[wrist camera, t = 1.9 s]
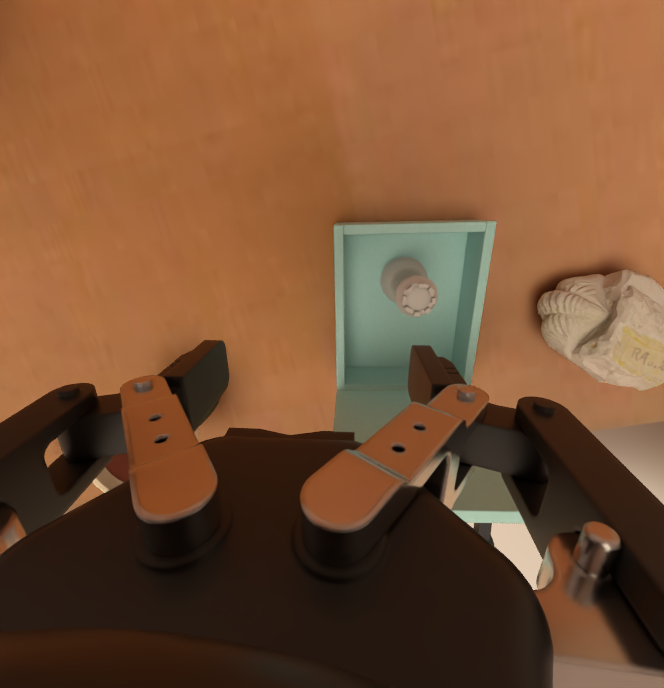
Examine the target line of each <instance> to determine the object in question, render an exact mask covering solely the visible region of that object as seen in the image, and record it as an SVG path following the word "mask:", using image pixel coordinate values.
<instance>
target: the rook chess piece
mask: <svg viewBox="0 0 664 688" xmlns="http://www.w3.org/2000/svg"><path fill="white" fill-rule="evenodd" d="M380 285H381V288H382V291H383V293H384V294H385V295H386V296H387V297H388V298H389V300H391V301H393V302H395V303H397V306H398V308H399V309H400V311H401V312H402V313H403V314H406V315H408V316H410V317H420V316H423V315H426V314H427V313H429V312H430V311H431V310H432V309H433V308H434V306H435V305H436V303H437V299H438V291H437V287H436V285H435V284H434V283H433V282H432V280H430V279H428V276H427V272H426V269H425V268H424V267H423V265H422V264H421V263H420V262H419V261H418V260H416V259H414V258H412V257H399V258H396V259H393V260H392V261H391V262H390V263H388V264H387V265H386V266H385V268H384V270H383V272H382V273H381V279H380Z"/></svg>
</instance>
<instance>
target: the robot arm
mask: <svg viewBox="0 0 664 688" xmlns="http://www.w3.org/2000/svg"><path fill="white" fill-rule="evenodd" d="M228 382H229V370H228V362H227V354H226V347H225V343H224V342H223V341H218V340H205V341H203V342H202V343H201V344H200V345H198V346H197V347H196V348H195V349H194V350H193V351H190V352H188V353H186V354H184V355H181V356H180V357H179V358H178V359H177V360H175V362H173V363H172V364H171V365H170V366H168V367H167V368H166V369H164V370H163V371H162V372H161V373H160V374H158V375H157V376H156V375H151V376H143V377H139V378H135V379H132V380H130V381H128V382H126V383H125V384H123V385H122V386H121V388H120V393H119V394H112V395H104V396H97V393H96V390H95V386H94V385H92V384H89V383H78V384H71V385H66V386H63V387H60V388H58V389H55V390H53V391H51V392H49V393H47V394H46V395H44V396H43V397H41V398H39V399H38V400H36V401H35V402H33V403H32V404H30V405H28V406H27V407H25V408H24V409H22V410H20V411H19V412H17V413H16V414H14V415H12V416H11V417H9V418H8V419H6V420H5V421H3V422H1V423H0V688H664V505H663V504H662V503H661V502H660V501H659V500H658V499H657V498H656V497H655V496H654V495H653V494H652V493H651V492H650V491H649V490H648V489H647V488H646V487H645V486H644V485H643V484H642V483H641V482H640V481H639V480H638V479H637V478H636V477H635V476H634V475H633V474H632V473H631V472H630V471H629V470H628V469H627V468H626V467H625V466H624V465H623V464H622V463H621V462H620V461H619V460H618V459H617V458H616V457H615V456H614V455H613V454H612V453H611V452H610V451H609V450H608V449H607V448H606V447H605V446H604V445H603V444H602V443H601V442H600V441H599V440H598V439H597V438H596V437H595V436H594V435H593V434H592V433H591V432H590V431H589V430H588V429H587V428H586V427H585V426H584V425H583V424H582V423H581V422H580V421H579V420H578V419H577V418H576V417H575V416H574V415H573V414H572V413H571V412H570V411H569V410H568V409H566V408H565V407H564V406H562V405H560V404H559V403H556V402H554V401H551V400H548V399H545V398H540V397H523V398H521V399H519V400H518V403H517V407H516V409H514V408H508V407H503V406H498V405H494V404H491V403H488V402H489V396H488V394H487V393H486V392H485V391H483V390H482V389H480V388H477V387H475V386H471V385H467V383H466V382H465V380H464V379H463V377H462V376H461V375H460V374H459V372H458V370H457V369H456V367H455V366H454V364H453V363H452V362H451V361H449V360H448V359H446V358H444V357H437V355H436V354H435V352H434V350H433V349H432V347H431V346H430V345H412V347H411V352H410V362H409V373H408V393H409V397H410V400H411V404H409V405H408V406H407V407H406V408H405V409H403V410H402V411H401V412H400V413H399V414H398V415H396V416H395V417H394V418H393V419H392V420H390V421H389V422H388V423H387V424H386V425H385V426H383V427H382V428H381V429H380V430H379V431H378V432H376V433H375V434H374V435H373V436H372V437H370V438H369V439H368V440H367V441H366V442H365V443H361V442H357V441H355V432H335V431H320V432H312V433H304V434H296V435H286V434H281V433H277V432H272V431H267V430H263V429H249V428H229V429H228V431H227V433H226V434H225V436H222V437H217V438H212V439H209V440H205V441H203V442H200V443H199V442H198V440H197V438H196V436H195V434H194V432H195V431H196V430H197V428H198V427H199V426H200V424H201V423H202V421H203V420H204V419H205V417H206V416H207V414H208V413H209V412H210V410H211V409H212V408H213V406H214V405H215V403H216V402H217V401H218V399H219V398H220V397H221V395H222V394H223V392H224V391H225V390H226V388H227V386H228ZM56 438H58V441H59V444H60V447H61V449H62V452H63V454H62V455H61V456H60V457H59V458H58V459H56V460H55V461H54V462H53V463H52V464H51V465H50V466H49V467H47V465H46V463H45V460H44V454H45V450H46V448H47V446H48V445H49V444H50V443H51V442H52V441H53V440H54V439H56ZM124 453H127V455H128V462H129V469H128V473H129V480H128V481H126V482H124V483H122V484H120V485H118V486H116V487H115V488H113V489H111V490H109V491H107V492H105V493H103V494H102V495H100V496H98V497H96V498H94V499H92V500H90V501H89V502H87V503H85V504H83V505H81V506H79V507H77V508H76V509H74V510H72V511H70V512H68V513H66V514H64V513H65V512H66V511H67V510H68V509H69V507H70V506H71V505H72V504H73V503H74V502H75V501H76V500H77V499H78V497H79V496H80V495H81V494H82V493H83V492H84V491H85V490H86V488H87V487H88V486H89V485H90V484H91V483H92V482H93V481H94V479H95V478H96V477H97V476H98V475H99V474H100V473H101V472H102V470H103V469H104V468H105V467H106V466H107V465H108V464H109V463H110V462H111V460H112V459H113V457H114V455H119V454H124ZM475 466H477V467H481V468H485V469H489V470H492V471H496V472H500V473H501V476H502V478H503V480H504V482H505V484H506V486H507V488H508V490H509V493H510V495H511V497H512V499H513V501H514V503H515V505H516V507H517V509H518V511H519V513H520V515H521V517H522V519H523V521H524V523H525V525H526V527H527V529H528V531H529V533H530V535H531V537H532V539H533V541H534V543H535V545H536V547H537V549H538V551H539V553H540V555H541V557H542V559H543V561H542V564H541V567H540V570H539V573H538V576H537V588H538V590H533V589H532V587H531V585H530V584H529V583H528V581H527V580H526V579H525V577H524V576H523V574H522V573H521V572H520V571H519V570H518V569H517V567H516V566H515V565H514V564H513V563H512V562H511V561H510V560H509V559H508V558H507V557H506V556H505V555H504V554H502V553H501V552H500V551H499V550H498V549H497V548H495V547H494V546H493V545H492V544H491V543H490V542H488V541H487V540H486V539H485V538H484V537H482V536H481V535H480V534H479V533H478V532H477V531H475V530H474V529H473V528H472V527H471V526H469V525H468V524H467V523H466V522H465V521H464V520H462V519H461V518H460V517H459V516H458V515H457V514H455V513H454V512H453V511H452V510H451V509H452V507H453V505H454V503H455V501H456V499H457V498H458V496H459V494H460V493H461V491H462V489H463V488H464V486H465V485H466V483H467V481H468V480H469V478H470V477H471V475H472V473H473V472H474V470H475ZM63 514H64V515H63ZM62 515H63V516H62Z"/></svg>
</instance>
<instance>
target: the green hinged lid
mask: <svg viewBox="0 0 664 688" xmlns="http://www.w3.org/2000/svg"><path fill="white" fill-rule="evenodd" d="M409 404H411V400H410V397H409V393H408V391H337V393H336V406H335V418H334V431H335V432H355V441H357V442H361V443H365V442H366V441H367V440H368V439H369V438H370V437H372V436H373V435H374V434H375V433H376V432H378V431H379V430H380V429H381V428H382V427H383V426H385V425H386V424H387V423H388V422H389V421H390V420H392V419H393V418H394V417H395V416H396V415H398V414H399V413H400V412H401V411H402V410H403V409H405V408H406V407H407V406H408V405H409ZM451 510H452V511H453V512H454V513H455V514H457V515H458V516H459V517H460V518H461V519H462V520H464V521H465V522H466V523H474V530H475V531H477V532H478V533H479V534H480V535H481V536H482V537H484V538H485V539H486V540H487V541H488V542H490V543H491V544H492V545H493V546H494V543H493V539H492V537H491V525H492V523H518V524H521V523H522V524H525V523H524V521H523V519H522V517H521V515H520V513H519V511H518V509H517V507H516V505H515V503H514V501H513V499H512V497H511V495H510V493H509V490H508V488H507V486H506V484H505V482H504V480H503V478H502V476H501V473H500V472H496V471H492V470H489V469H485V468H481V467H477V466H475V470H474V472H473V473H472V475H471V477H470V478H469V480H468V481H467V483H466V485H465V486H464V488H463V489H462V491H461V493H460V494H459V496H458V498H457V499H456V501H455V503H454V505H453V507H452V509H451Z"/></svg>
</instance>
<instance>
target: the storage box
mask: <svg viewBox="0 0 664 688" xmlns="http://www.w3.org/2000/svg"><path fill="white" fill-rule="evenodd" d="M495 229H496V221H488V220H476V219H469V220H426V221H382V222H339V223H335V224H334V275H335V325H336V374H337V391H408V373H409V362H410V352H411V347H412V345H430V346H431V347H432V349H433V350H434V352H435V354H436V355H437V357H444V358H446V359H448V360H449V361H451V362H452V363H453V364H454V366H455V367H456V369H457V370H458V372H459V374H460V375H461V376H462V377H463V379H464V380H465V382H466V383H467V385H471V381H472V375H473V368H474V362H475V356H476V349H477V343H478V337H479V330H480V324H481V318H482V311H483V305H484V299H485V292H486V286H487V280H488V273H489V267H490V261H491V254H492V248H493V241H494V235H495ZM399 257H412V258H414V259H416V260H418V261H419V262H420V263H421V264H422V265H423V267H424V268H425V269H426V272H427V276H428V279H430V280H432V282H433V283H434V284H435V285H436V287H437V291H438V299H437V303H436V305H435V306H434V308H433V309H432V310H431V311H430V312H429V313H427V314H426V315H423V316H420V317H410V316H408V315H406V314H403V313H402V312H401V311H400V309H399V308H398V306H397V303H395V302H393V301H391V300H389V298H388V297H387V296H386V295H385V294H384V293H383V291H382V288H381V285H380V279H381V273H382V272H383V270H384V268H385V266H386V265H387V264H388V263H390V262H391V261H392V260H393V259H396V258H399Z"/></svg>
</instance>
